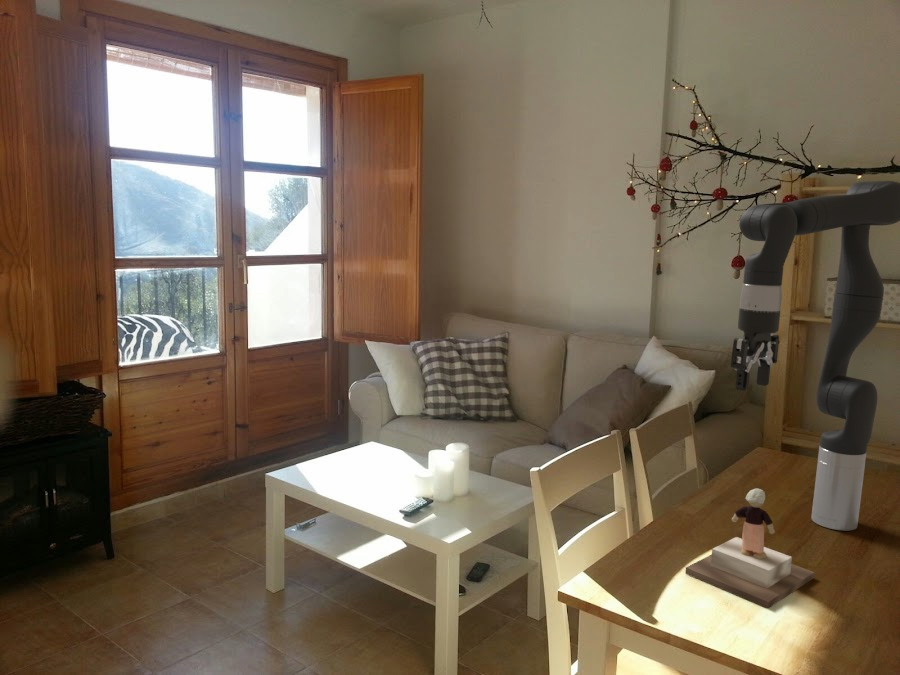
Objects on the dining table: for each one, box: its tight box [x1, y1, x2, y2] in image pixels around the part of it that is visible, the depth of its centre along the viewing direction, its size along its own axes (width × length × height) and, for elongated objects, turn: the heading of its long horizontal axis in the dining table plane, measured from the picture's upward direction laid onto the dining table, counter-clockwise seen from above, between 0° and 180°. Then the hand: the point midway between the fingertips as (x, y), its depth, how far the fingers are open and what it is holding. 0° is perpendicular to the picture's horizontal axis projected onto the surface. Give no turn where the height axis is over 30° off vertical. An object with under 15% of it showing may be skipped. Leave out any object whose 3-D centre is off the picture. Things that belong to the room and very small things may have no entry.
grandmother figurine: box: [731, 487, 776, 559], centre depth 137 cm, size 8×4×13 cm, turn 61°
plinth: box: [684, 536, 815, 609], centre depth 139 cm, size 18×16×5 cm
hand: (752, 387), depth 149 cm, fingers open, 8 cm apart
